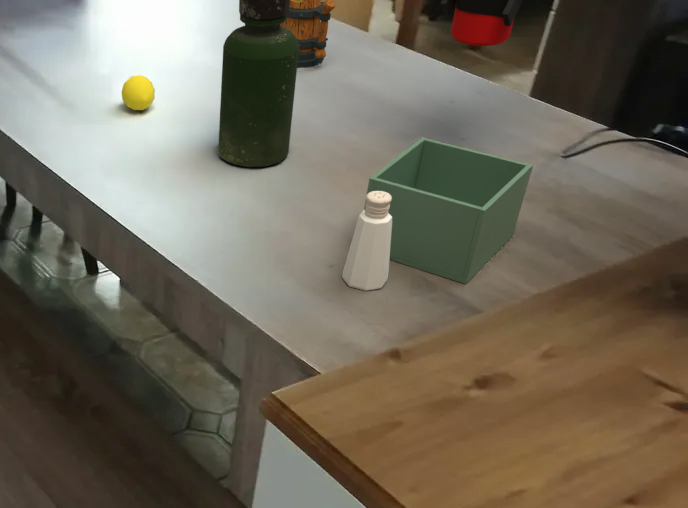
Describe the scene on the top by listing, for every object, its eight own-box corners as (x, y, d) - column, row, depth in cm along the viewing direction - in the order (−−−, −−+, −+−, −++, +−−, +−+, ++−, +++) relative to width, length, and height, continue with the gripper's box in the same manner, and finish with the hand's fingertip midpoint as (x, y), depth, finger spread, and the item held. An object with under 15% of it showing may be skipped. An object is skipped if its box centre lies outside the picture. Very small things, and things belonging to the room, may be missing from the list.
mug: (257, 55, 170) (262, -12, 162) (301, 44, 173) (308, -23, 165) (301, 77, 161) (309, 6, 153) (347, 64, 164) (357, -5, 156)
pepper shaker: (331, 277, 112) (344, 193, 105) (363, 262, 115) (377, 179, 107) (365, 296, 109) (381, 211, 102) (397, 281, 111) (414, 196, 104)
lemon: (160, 114, 152) (160, 81, 148) (129, 119, 151) (128, 86, 147) (146, 99, 157) (146, 66, 153) (116, 104, 156) (115, 71, 152)
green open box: (512, 236, 118) (533, 164, 111) (465, 284, 110) (485, 210, 104) (408, 205, 125) (422, 137, 118) (357, 249, 117) (369, 178, 111)
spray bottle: (248, 133, 144) (261, -42, 128) (302, 152, 138) (322, -29, 122) (203, 155, 139) (210, -25, 123) (257, 176, 134) (272, -10, 117)
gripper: (640, -126, 117) (556, 44, 118) (482, -139, 127) (407, 17, 129) (641, -169, 110) (552, 11, 112) (475, -179, 121) (396, -14, 122)
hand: (474, 14), depth 120 cm, fingers closed on soda can, 7 cm apart
